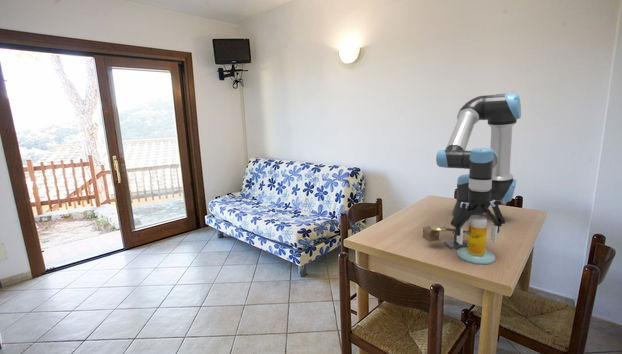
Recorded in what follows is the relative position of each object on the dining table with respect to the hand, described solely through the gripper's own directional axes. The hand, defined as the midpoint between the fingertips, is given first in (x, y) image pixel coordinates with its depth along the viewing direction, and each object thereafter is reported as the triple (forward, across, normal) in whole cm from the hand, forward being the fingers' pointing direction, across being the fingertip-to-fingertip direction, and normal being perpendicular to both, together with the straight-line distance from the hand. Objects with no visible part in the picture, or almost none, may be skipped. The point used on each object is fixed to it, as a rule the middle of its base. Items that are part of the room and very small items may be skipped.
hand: (476, 242), depth 114 cm
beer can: (+5, 0, 0) cm, 5 cm away
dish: (+6, 0, 0) cm, 6 cm away
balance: (+6, +2, -11) cm, 13 cm away
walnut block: (+6, +9, -20) cm, 23 cm away
